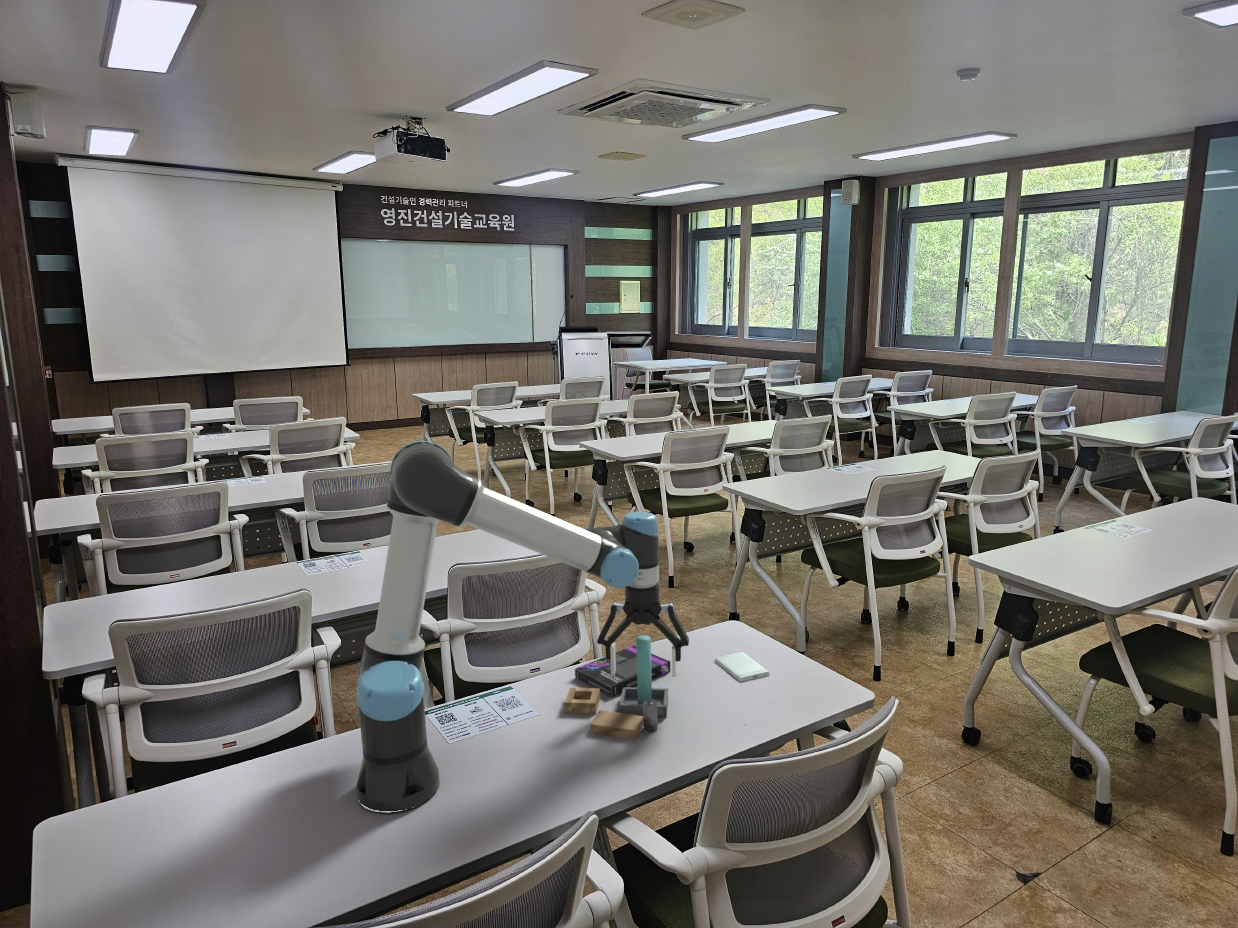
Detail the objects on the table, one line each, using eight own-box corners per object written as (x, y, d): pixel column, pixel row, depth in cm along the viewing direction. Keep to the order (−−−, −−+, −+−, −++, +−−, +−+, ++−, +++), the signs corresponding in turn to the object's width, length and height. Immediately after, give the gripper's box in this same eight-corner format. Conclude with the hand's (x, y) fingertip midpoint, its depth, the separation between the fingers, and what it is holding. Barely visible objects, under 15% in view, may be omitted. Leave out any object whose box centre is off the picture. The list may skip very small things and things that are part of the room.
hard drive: (714, 657, 199) (740, 677, 188) (742, 651, 202) (769, 670, 191) (714, 663, 199) (740, 683, 188) (742, 657, 202) (769, 676, 191)
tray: (619, 715, 173) (619, 705, 173) (623, 697, 182) (623, 687, 181) (666, 717, 172) (666, 706, 172) (668, 698, 180) (668, 688, 180)
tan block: (590, 734, 167) (590, 723, 166) (599, 720, 172) (599, 710, 172) (636, 741, 164) (635, 730, 163) (643, 726, 170) (643, 715, 169)
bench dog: (642, 731, 167) (642, 705, 165) (644, 724, 170) (643, 698, 168) (657, 732, 166) (656, 706, 165) (657, 724, 169) (657, 699, 168)
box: (633, 657, 205) (574, 679, 192) (633, 644, 204) (573, 666, 192) (671, 674, 194) (610, 699, 182) (671, 661, 193) (610, 685, 181)
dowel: (638, 701, 178) (637, 635, 175) (652, 701, 178) (651, 635, 175) (637, 708, 175) (635, 641, 172) (651, 708, 175) (650, 641, 172)
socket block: (565, 712, 175) (564, 702, 175) (570, 697, 182) (570, 687, 182) (596, 713, 175) (595, 703, 174) (600, 698, 181) (599, 688, 181)
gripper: (582, 587, 169) (586, 679, 173) (699, 589, 166) (699, 682, 170) (587, 576, 176) (590, 664, 180) (699, 577, 174) (699, 667, 178)
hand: (643, 673), depth 175 cm, fingers open, 13 cm apart
